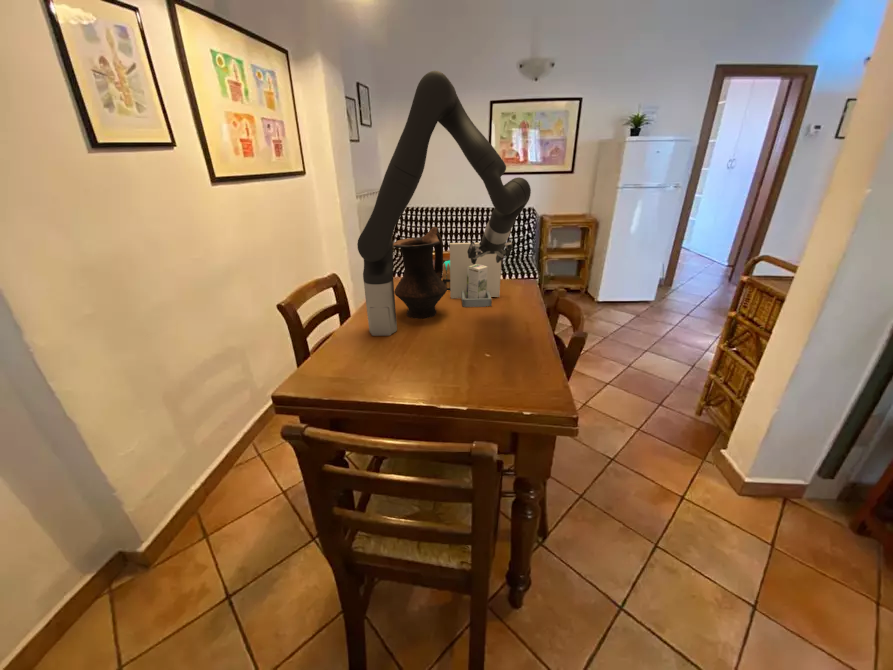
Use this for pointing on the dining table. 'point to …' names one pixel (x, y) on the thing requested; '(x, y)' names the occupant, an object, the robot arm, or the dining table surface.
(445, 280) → the ammunition clip
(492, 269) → the wall holder
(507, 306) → the dining table surface
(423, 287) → the jug
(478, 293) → the syrup box
